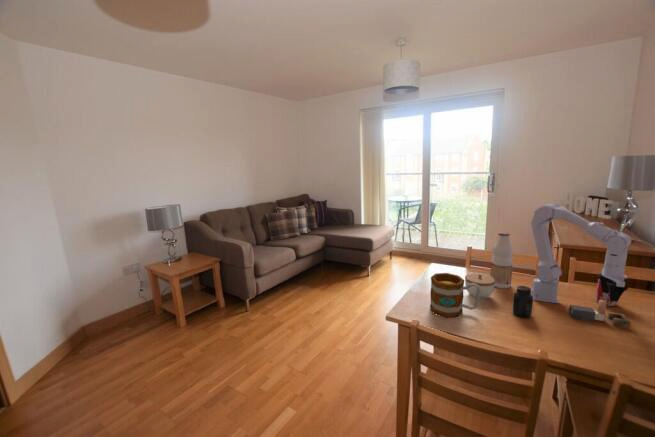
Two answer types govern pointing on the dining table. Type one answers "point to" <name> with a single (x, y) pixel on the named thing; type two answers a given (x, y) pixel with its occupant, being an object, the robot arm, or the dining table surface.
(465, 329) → the dining table surface
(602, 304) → the sliding bolt
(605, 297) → the soda can
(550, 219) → the robot arm
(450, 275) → the mug
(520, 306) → the supplement bottle
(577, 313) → the sleeve
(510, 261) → the fruit juice
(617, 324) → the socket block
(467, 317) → the dining table surface
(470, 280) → the lidded bowl
